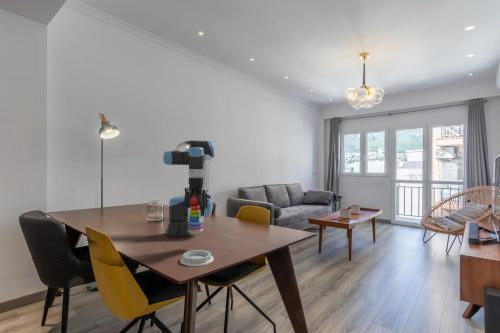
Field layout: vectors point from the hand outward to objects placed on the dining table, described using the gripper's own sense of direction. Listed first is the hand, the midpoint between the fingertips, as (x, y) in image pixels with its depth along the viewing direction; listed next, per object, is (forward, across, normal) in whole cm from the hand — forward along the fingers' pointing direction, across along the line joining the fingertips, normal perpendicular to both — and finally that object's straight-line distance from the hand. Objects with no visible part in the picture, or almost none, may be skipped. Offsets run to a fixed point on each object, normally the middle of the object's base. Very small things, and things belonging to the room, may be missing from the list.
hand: (195, 221), depth 137 cm
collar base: (+14, +12, -13) cm, 22 cm away
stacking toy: (+6, 0, 0) cm, 6 cm away
